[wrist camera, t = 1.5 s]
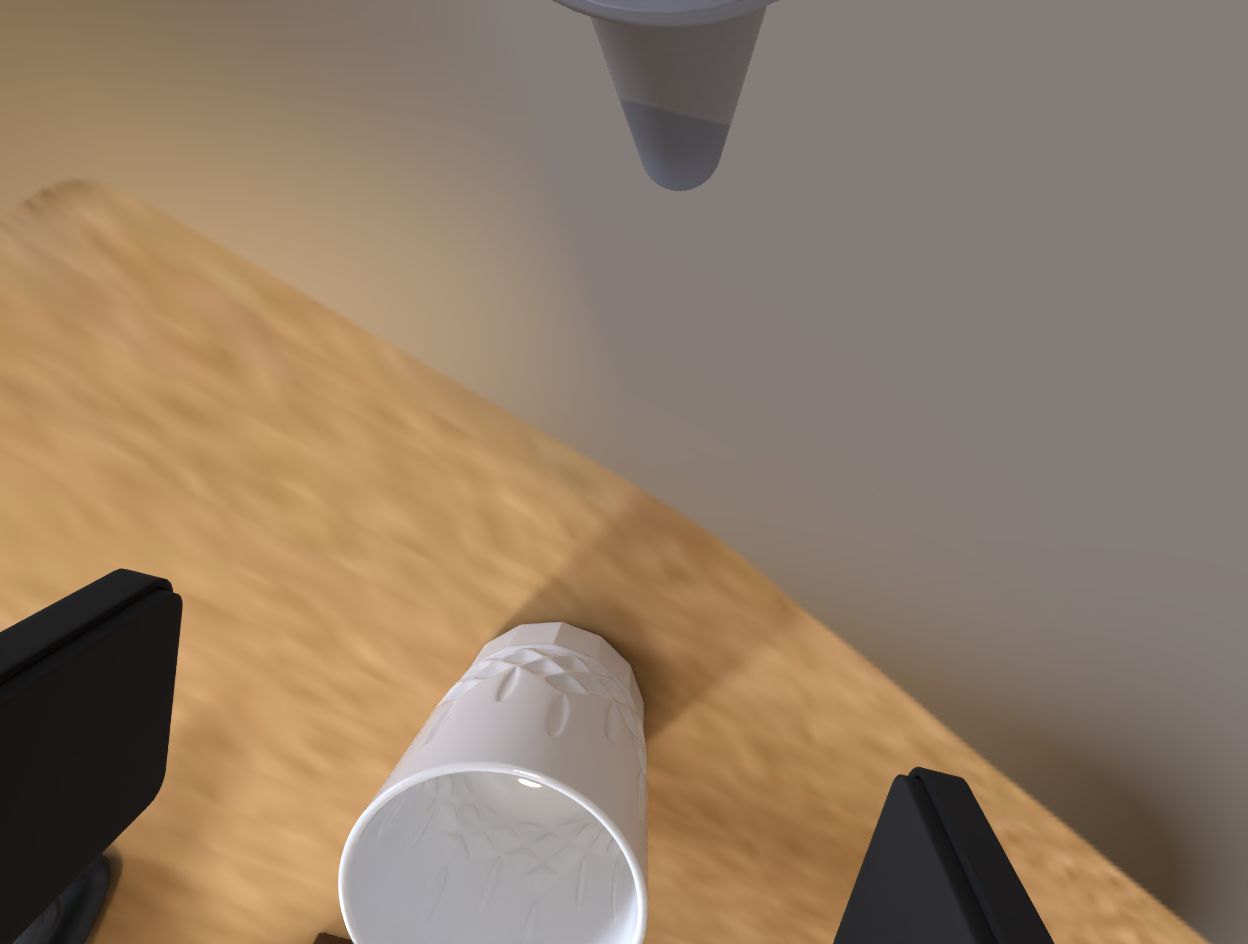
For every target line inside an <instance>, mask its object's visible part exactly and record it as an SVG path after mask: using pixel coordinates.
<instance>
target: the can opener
mask: <svg viewBox="0 0 1248 944" xmlns="http://www.w3.org/2000/svg"><path fill="white" fill-rule="evenodd" d="M109 884H110V866H109V864H108V862H107V860H106V858H105V857H104V856H103V855H102V854H100V855H99V856H98V857H97V858H96V859H95V860H94V861H93V862H92V863H91V864H90V865H89V866H88V867H87V868H86V869H85V871H84V872H83V873H82V874H81V875H80V876H79V877H78V878H77V879H76V880H75V881H74V882H73V883H72V884H71V885H70V886H69V887H68V888H67V889H66V890H65V891H64V892H63V893H62V894H61V895H60V896H59V897H58V898H57V899H56V900H55V901H54V902H53V903H52V904H51V905H50V906H49V907H48V908H47V909H46V910H45V911H44V912H43V913H42V914H41V915H40V916H39V917H38V918H37V919H36V920H35V921H34V922H33V923H32V924H31V925H30V926H29V927H28V928H27V929H26V930H25V931H24V932H23V933H22V934H21V935H20V936H19V937H18V938H17V939H16V940H15V941H14V942H13V943H12V944H84V943H85V941H86V939H87V937H88V935H89V933H90V931H91V929H92V926H93V924H94V922H95V920H96V918H97V915H98V913H99V911H100V908H101V905H102V903H103V901H104V898H105V895H106V893H107V891H108V888H109Z"/></svg>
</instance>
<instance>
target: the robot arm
mask: <svg viewBox="0 0 1248 944" xmlns="http://www.w3.org/2000/svg"><path fill="white" fill-rule="evenodd" d="M181 617H182V598H181V596H180V595H179V594H176V593H173V588H172V585H171V583H170V582H169V581H168V580H167V579H164V578H160V577H156V576H152V575H148V574H144V573H140V572H136V571H132V570H128V569H122V568H121V569H118V570H115V571H113V572H111V573H109V574H108V575H106V576H104V577H102V578H100V579H98V580H96V581H95V582H93V583H91V584H89V585H87V586H85V587H83V588H82V589H80V590H78V591H76V592H74V593H72V594H70V595H69V596H67V597H65V598H63V599H61V600H59V601H57V602H56V603H54V604H52V605H50V606H48V607H46V608H44V609H43V610H41V611H39V612H37V613H35V614H33V615H31V616H30V617H28V618H26V619H24V620H22V621H20V622H18V623H17V624H15V625H13V626H11V627H9V628H7V629H5V630H4V631H2V632H0V944H12V943H13V942H14V941H15V940H16V939H17V938H18V937H19V936H20V935H21V934H22V933H23V932H24V931H25V930H26V929H27V928H28V927H29V926H30V925H31V924H32V923H33V922H34V921H35V920H36V919H37V918H38V917H39V916H40V915H41V914H42V913H43V912H44V911H45V910H46V909H47V908H48V907H49V906H50V905H51V904H52V903H53V902H54V901H55V900H56V899H57V898H58V897H59V896H60V895H61V894H62V893H63V892H64V891H65V890H66V889H67V888H68V887H69V886H70V885H71V884H72V883H73V882H74V881H75V880H76V879H77V878H78V877H79V876H80V875H81V874H82V873H83V872H84V871H85V869H86V868H87V867H88V866H89V865H90V864H91V863H92V862H93V861H94V860H95V859H96V858H97V857H98V856H99V855H100V854H101V853H102V852H103V851H104V850H105V849H106V848H107V847H108V846H109V845H110V844H111V843H112V842H113V841H114V840H115V839H116V838H117V837H118V836H119V835H120V834H121V833H122V832H123V831H124V830H125V829H126V828H127V827H128V826H129V825H130V824H131V823H132V822H133V821H134V820H135V819H136V818H137V817H138V816H139V815H140V814H141V813H142V812H143V811H144V810H145V809H146V808H147V807H148V806H149V805H150V803H151V802H152V801H153V800H154V798H155V797H156V795H157V794H158V792H159V790H160V788H161V786H162V783H163V780H164V777H165V772H166V763H167V753H168V743H169V734H170V724H171V714H172V705H173V695H174V685H175V675H176V666H177V656H178V646H179V637H180V627H181ZM833 944H1054V942H1053V940H1052V938H1051V936H1050V934H1049V933H1048V931H1047V929H1046V927H1045V925H1044V923H1043V922H1042V920H1041V918H1040V916H1039V914H1038V912H1037V911H1036V909H1035V907H1034V905H1033V903H1032V901H1031V900H1030V898H1029V896H1028V894H1027V892H1026V890H1025V889H1024V887H1023V885H1022V883H1021V881H1020V879H1019V878H1018V876H1017V874H1016V872H1015V870H1014V868H1013V867H1012V865H1011V863H1010V861H1009V859H1008V857H1007V856H1006V854H1005V852H1004V850H1003V848H1002V846H1001V845H1000V843H999V841H998V839H997V837H996V835H995V833H994V832H993V830H992V828H991V826H990V824H989V822H988V821H987V819H986V817H985V815H984V813H983V811H982V810H981V808H980V806H979V804H978V802H977V800H976V799H975V797H974V795H973V793H972V791H971V789H970V788H969V786H968V784H967V782H966V781H965V780H964V779H963V778H961V777H957V776H953V775H949V774H945V773H941V772H937V771H933V770H929V769H925V768H921V767H916V768H913V770H912V771H911V772H910V773H909V775H908V776H906V775H901V774H900V775H897V777H896V778H895V779H894V781H893V783H892V785H891V788H890V791H889V793H888V796H887V799H886V801H885V804H884V807H883V809H882V812H881V815H880V818H879V820H878V823H877V826H876V828H875V831H874V834H873V837H872V839H871V842H870V845H869V847H868V850H867V853H866V855H865V858H864V861H863V864H862V866H861V869H860V872H859V874H858V877H857V880H856V883H855V885H854V888H853V891H852V893H851V896H850V899H849V901H848V904H847V907H846V910H845V912H844V915H843V918H842V920H841V923H840V926H839V928H838V931H837V934H836V937H835V939H834V943H833Z"/></svg>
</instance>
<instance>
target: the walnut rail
mask: <svg viewBox="0 0 1248 944" xmlns="http://www.w3.org/2000/svg"><path fill="white" fill-rule="evenodd" d="M313 944H354V943H353V941H349V940H345V939H341V938H338V937H334V936H330V935H326V934H322V933H319V934H318V936H317V937H316V939H315V941H314V943H313Z"/></svg>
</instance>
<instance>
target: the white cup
mask: <svg viewBox="0 0 1248 944" xmlns="http://www.w3.org/2000/svg"><path fill="white" fill-rule="evenodd" d="M643 728H644V701H643V698H642V696H641V693H640V690H639V687H638V684H637V682H636V679H635V676H634V673H633V670H632V668H631V665H630V664H629V663H628V662H627V661H626V660H625V659H624V658H623V657H622V656H621V655H620V654H619V653H618V652H617V651H616V650H615V649H614V648H613V647H612V646H611V645H610V644H609V643H608V642H607V641H606V640H604V639H603V638H602V637H601V636H599V635H596V634H594V633H591V632H588V631H585V630H583V629H580V628H577V627H575V626H572V625H569V624H567V623H564V622H550V623H535V624H521V625H519V626H517V627H515V628H513V629H511V630H510V631H508V632H506V633H504V634H502V635H501V636H499V637H497V638H495V639H493V640H492V641H490V642H488V643H486V644H485V645H484V647H483V648H482V650H481V651H480V653H479V654H478V656H477V657H476V659H475V660H474V662H473V663H472V665H471V666H470V668H469V669H468V671H467V672H466V673H465V674H464V676H463V677H462V678H461V679H460V680H459V681H458V682H457V683H455V684H454V685H453V686H452V687H451V688H450V689H449V691H448V692H447V694H446V695H445V697H444V698H443V699H442V700H441V702H440V703H439V704H438V706H437V707H436V708H435V709H434V711H433V712H432V713H431V715H430V717H429V718H428V719H427V721H426V722H425V724H424V725H423V727H422V728H421V730H420V731H419V733H418V734H417V736H416V737H415V738H414V740H413V741H412V743H411V744H410V746H409V747H408V748H407V750H406V751H405V753H404V754H403V756H402V757H401V759H400V760H399V761H398V763H397V764H396V766H395V767H394V769H393V770H392V772H391V773H390V775H389V776H388V777H387V779H386V780H385V782H384V783H383V785H382V786H381V788H380V789H379V790H378V792H377V793H376V795H375V796H374V798H373V799H372V800H371V802H370V803H369V805H368V806H367V808H366V809H365V811H364V812H363V813H362V815H361V816H360V818H359V819H358V821H357V822H356V824H355V825H354V827H353V829H352V831H351V833H350V835H349V837H348V839H347V842H346V844H345V847H344V850H343V854H342V858H341V862H340V868H339V880H338V889H339V900H340V906H341V911H342V915H343V918H344V922H345V925H346V927H347V930H348V932H349V935H350V937H351V939H352V941H353V943H354V944H643V941H644V938H645V934H646V928H647V921H648V783H647V753H646V746H645V738H644V732H643Z"/></svg>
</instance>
